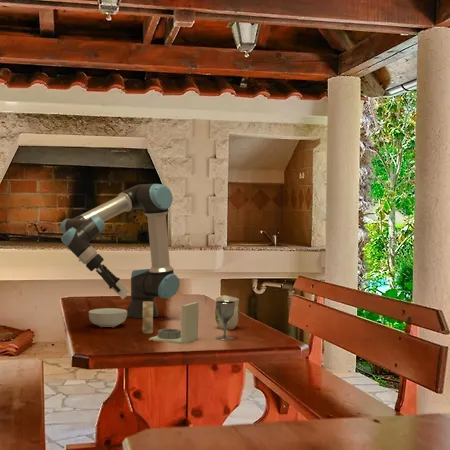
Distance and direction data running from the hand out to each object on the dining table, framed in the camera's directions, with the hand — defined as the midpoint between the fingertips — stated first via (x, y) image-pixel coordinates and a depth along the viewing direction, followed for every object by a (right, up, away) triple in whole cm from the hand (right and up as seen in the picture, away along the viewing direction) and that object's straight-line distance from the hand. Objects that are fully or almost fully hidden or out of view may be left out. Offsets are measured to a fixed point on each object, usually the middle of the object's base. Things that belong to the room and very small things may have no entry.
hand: (126, 295), depth 294 cm
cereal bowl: (-10, -16, +14) cm, 24 cm away
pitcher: (+43, -17, +15) cm, 48 cm away
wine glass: (+42, -17, -9) cm, 46 cm away
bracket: (+21, -17, -14) cm, 30 cm away
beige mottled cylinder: (+9, -16, +1) cm, 18 cm away
